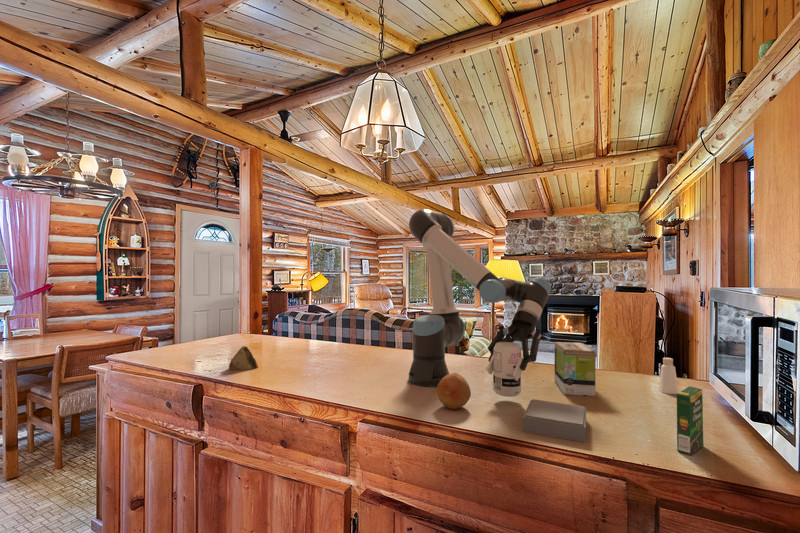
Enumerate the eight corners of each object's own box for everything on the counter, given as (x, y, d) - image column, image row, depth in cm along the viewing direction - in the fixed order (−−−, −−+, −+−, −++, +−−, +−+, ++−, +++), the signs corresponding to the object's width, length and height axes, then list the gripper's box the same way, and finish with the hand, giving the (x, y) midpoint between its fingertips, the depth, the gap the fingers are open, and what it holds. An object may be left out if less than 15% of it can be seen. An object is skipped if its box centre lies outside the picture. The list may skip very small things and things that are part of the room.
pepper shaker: (657, 388, 127) (657, 355, 127) (677, 390, 124) (677, 357, 124) (659, 392, 122) (658, 359, 122) (679, 395, 119) (679, 360, 120)
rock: (220, 364, 154) (235, 364, 148) (231, 346, 159) (245, 345, 153) (241, 375, 160) (255, 376, 155) (250, 357, 165) (264, 357, 160)
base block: (523, 431, 93) (523, 415, 93) (531, 412, 106) (531, 398, 106) (585, 442, 87) (585, 425, 87) (586, 421, 99) (586, 406, 99)
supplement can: (498, 386, 120) (499, 340, 120) (524, 392, 116) (524, 343, 116) (489, 393, 114) (489, 344, 114) (515, 399, 109) (516, 348, 109)
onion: (435, 401, 115) (435, 369, 115) (468, 402, 115) (467, 369, 115) (437, 413, 105) (437, 378, 105) (473, 414, 105) (472, 378, 105)
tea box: (597, 396, 119) (596, 350, 119) (563, 395, 121) (562, 349, 121) (583, 383, 133) (583, 341, 133) (553, 381, 135) (553, 340, 136)
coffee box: (691, 457, 80) (690, 395, 80) (676, 451, 82) (675, 392, 82) (704, 446, 85) (703, 388, 85) (689, 442, 87) (688, 385, 87)
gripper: (561, 328, 118) (539, 390, 107) (502, 320, 133) (476, 374, 122) (555, 312, 114) (530, 375, 103) (494, 307, 129) (467, 361, 118)
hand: (501, 374), depth 112 cm, fingers closed on supplement can, 8 cm apart
